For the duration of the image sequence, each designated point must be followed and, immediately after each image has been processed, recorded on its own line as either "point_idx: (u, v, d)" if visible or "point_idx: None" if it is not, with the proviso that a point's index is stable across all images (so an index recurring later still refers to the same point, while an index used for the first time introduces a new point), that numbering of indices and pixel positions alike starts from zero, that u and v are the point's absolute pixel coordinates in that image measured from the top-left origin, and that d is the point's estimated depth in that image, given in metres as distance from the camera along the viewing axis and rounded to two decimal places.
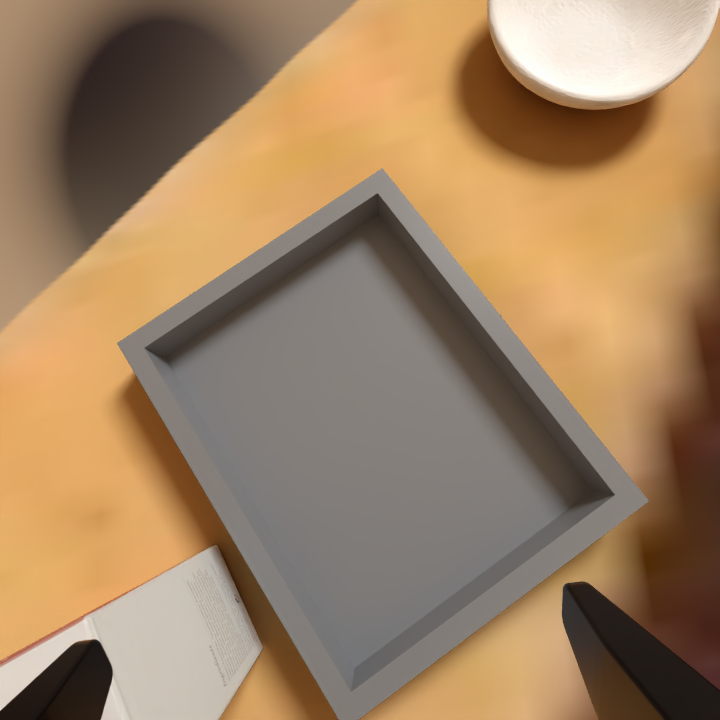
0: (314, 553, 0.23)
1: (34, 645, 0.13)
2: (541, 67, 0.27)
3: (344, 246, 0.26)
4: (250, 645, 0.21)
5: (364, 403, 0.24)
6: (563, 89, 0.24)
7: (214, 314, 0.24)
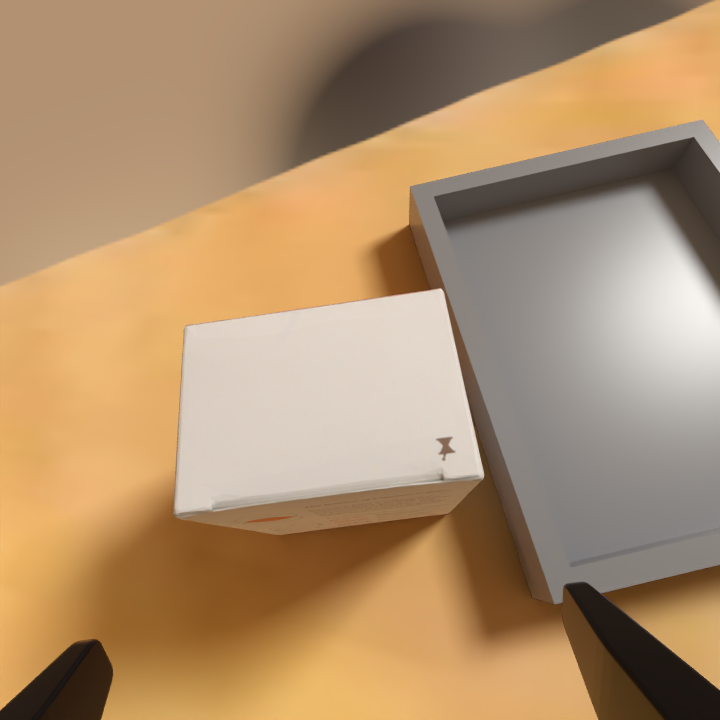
0: (534, 437, 0.21)
1: (383, 297, 0.13)
2: None
3: (630, 185, 0.26)
4: None
5: (622, 319, 0.23)
6: None
7: (495, 198, 0.25)
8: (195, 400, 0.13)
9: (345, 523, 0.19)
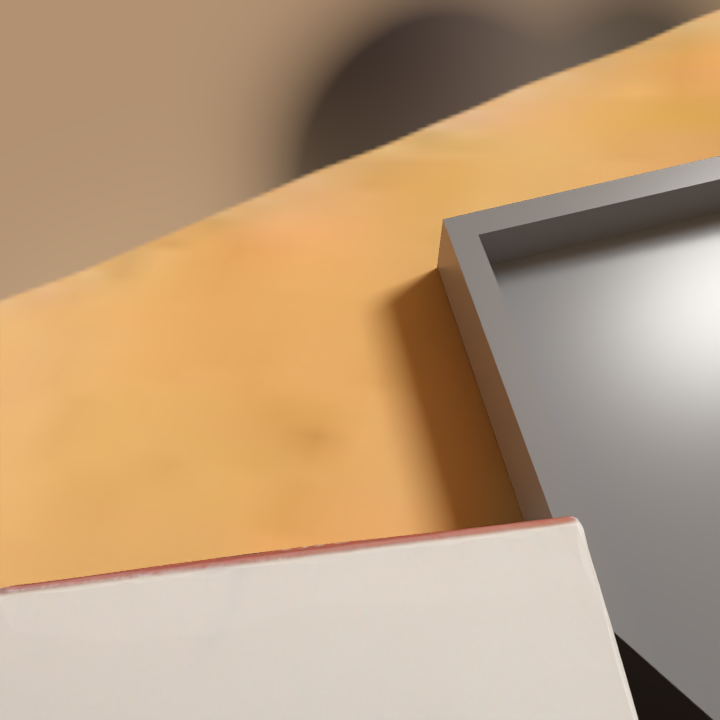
0: (645, 620, 0.13)
1: (442, 534, 0.06)
2: None
3: None
4: None
5: None
6: None
7: (564, 234, 0.18)
8: None
9: None
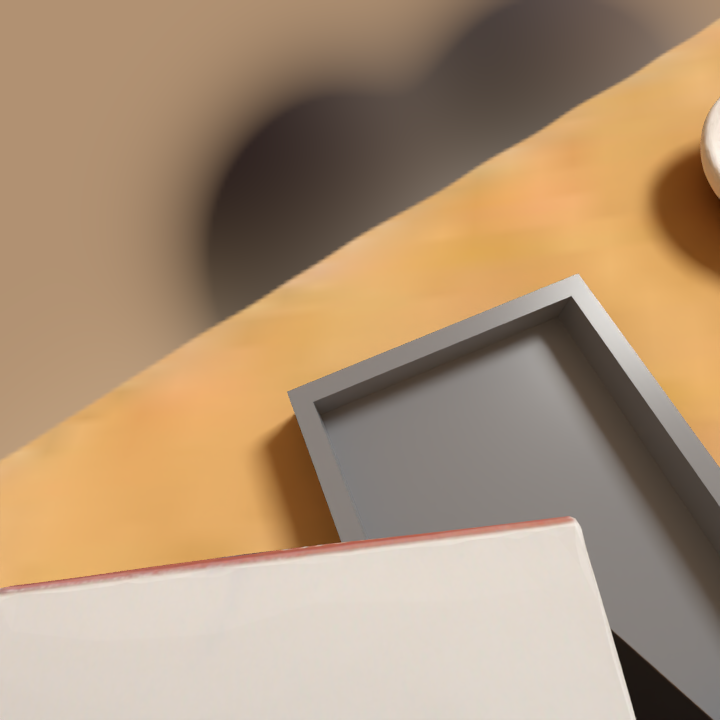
0: None
1: (441, 534, 0.06)
2: None
3: (519, 341, 0.25)
4: None
5: (526, 509, 0.22)
6: None
7: (382, 382, 0.24)
8: None
9: None
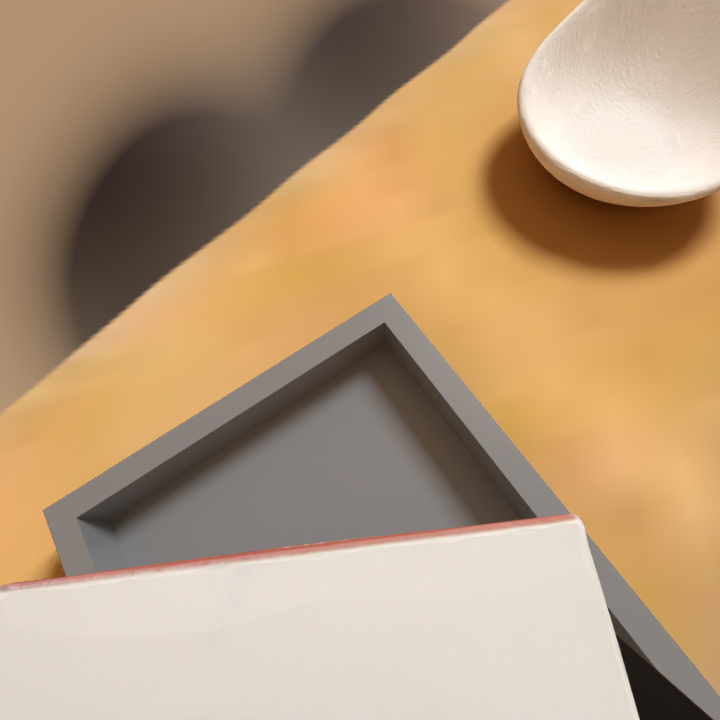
0: None
1: (443, 531, 0.06)
2: (578, 163, 0.24)
3: (344, 381, 0.21)
4: None
5: None
6: (608, 184, 0.21)
7: (175, 469, 0.19)
8: None
9: None
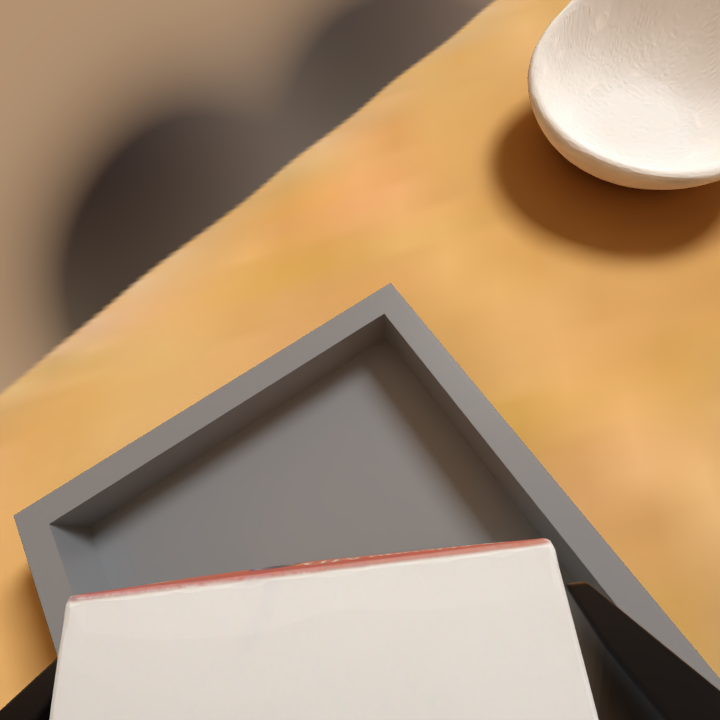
0: None
1: (438, 553, 0.07)
2: (592, 146, 0.23)
3: (341, 378, 0.20)
4: None
5: None
6: (626, 164, 0.20)
7: (159, 471, 0.18)
8: None
9: None
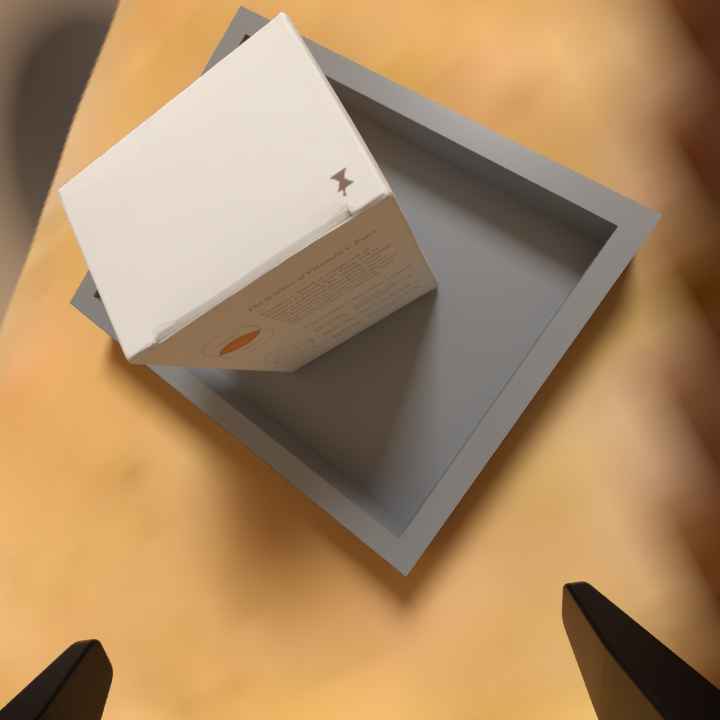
0: (329, 428, 0.21)
1: (227, 56, 0.11)
2: None
3: None
4: None
5: None
6: None
7: None
8: (98, 254, 0.12)
9: (339, 332, 0.19)
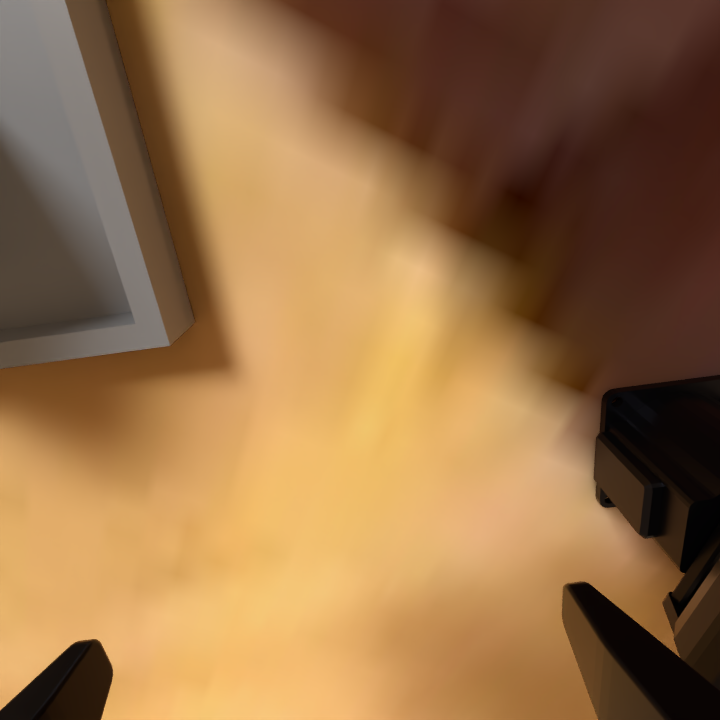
0: (24, 296, 0.19)
1: None
2: None
3: None
4: None
5: None
6: None
7: None
8: None
9: None
